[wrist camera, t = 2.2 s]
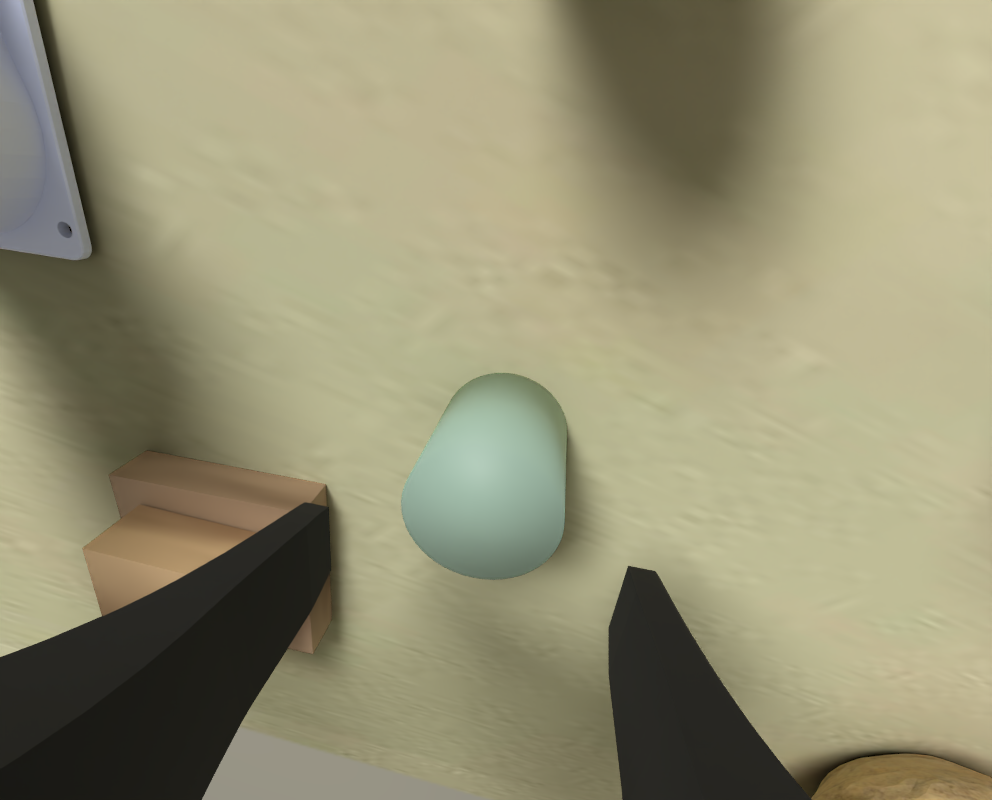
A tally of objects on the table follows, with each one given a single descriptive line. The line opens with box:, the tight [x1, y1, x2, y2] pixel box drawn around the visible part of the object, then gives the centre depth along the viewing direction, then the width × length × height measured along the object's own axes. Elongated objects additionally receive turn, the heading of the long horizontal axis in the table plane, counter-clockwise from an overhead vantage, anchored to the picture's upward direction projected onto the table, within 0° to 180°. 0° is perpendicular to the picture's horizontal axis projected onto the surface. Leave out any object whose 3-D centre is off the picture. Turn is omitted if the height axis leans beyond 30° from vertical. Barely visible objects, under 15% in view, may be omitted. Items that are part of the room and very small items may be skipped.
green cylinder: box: [401, 373, 567, 580], centre depth 15 cm, size 4×4×5 cm
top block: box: [82, 505, 256, 616], centre depth 19 cm, size 6×6×2 cm
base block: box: [109, 450, 332, 654], centre depth 21 cm, size 8×8×2 cm
